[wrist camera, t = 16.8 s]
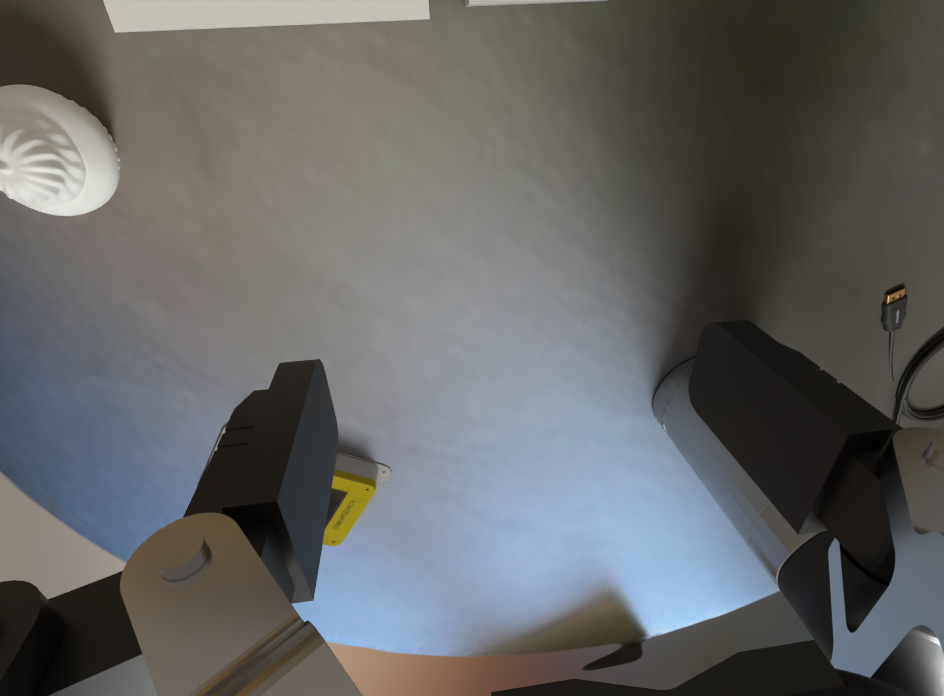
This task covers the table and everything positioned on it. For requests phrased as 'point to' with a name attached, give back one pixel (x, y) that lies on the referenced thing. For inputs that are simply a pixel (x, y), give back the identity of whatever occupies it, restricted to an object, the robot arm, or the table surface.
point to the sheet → (255, 13)
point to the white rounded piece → (54, 153)
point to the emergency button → (350, 493)
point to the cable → (893, 320)
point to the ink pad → (517, 2)
